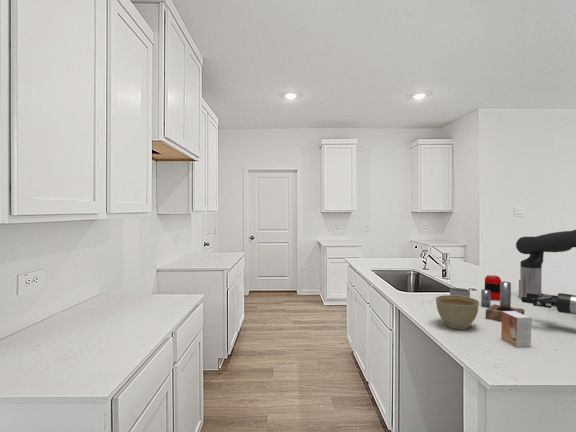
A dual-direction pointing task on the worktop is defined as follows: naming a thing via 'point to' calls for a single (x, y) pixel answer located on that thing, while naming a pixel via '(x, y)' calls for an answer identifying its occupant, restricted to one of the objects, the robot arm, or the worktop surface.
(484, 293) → the short steel pin
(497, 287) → the soda can
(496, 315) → the walnut bored block
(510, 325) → the small box
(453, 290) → the cup
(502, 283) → the long steel pin
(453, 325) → the planter bowl
